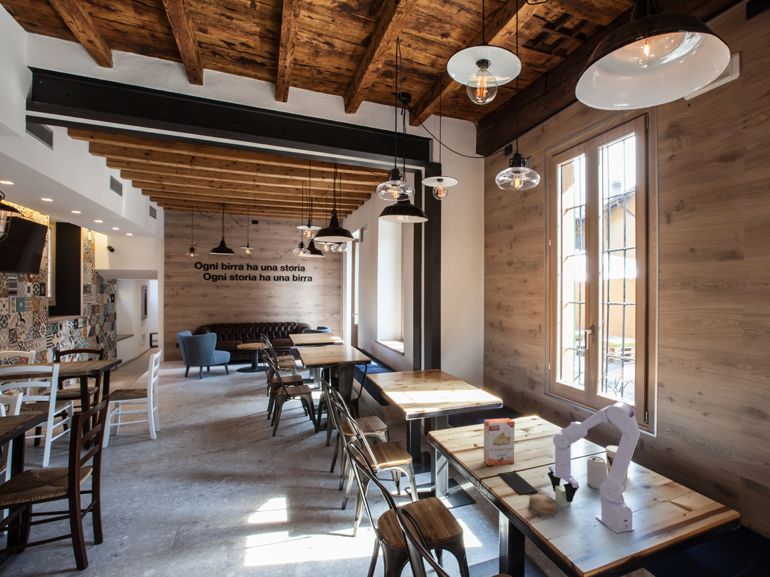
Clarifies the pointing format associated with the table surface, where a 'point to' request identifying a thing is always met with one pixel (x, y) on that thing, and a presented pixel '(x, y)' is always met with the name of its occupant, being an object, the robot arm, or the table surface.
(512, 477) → the cell phone
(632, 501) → the table surface
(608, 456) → the coffee cup
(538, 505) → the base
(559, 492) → the block
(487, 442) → the cracker box
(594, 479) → the can
